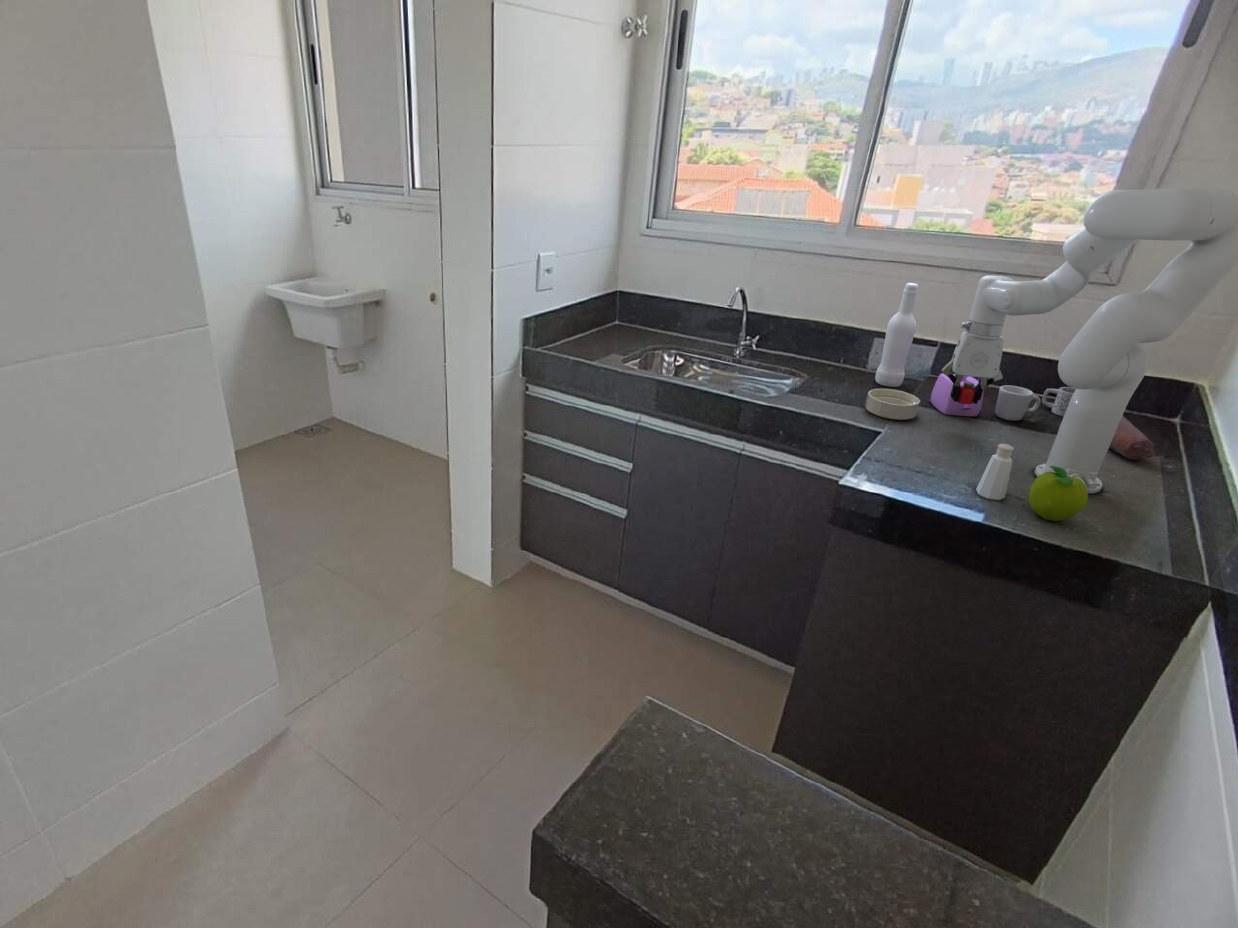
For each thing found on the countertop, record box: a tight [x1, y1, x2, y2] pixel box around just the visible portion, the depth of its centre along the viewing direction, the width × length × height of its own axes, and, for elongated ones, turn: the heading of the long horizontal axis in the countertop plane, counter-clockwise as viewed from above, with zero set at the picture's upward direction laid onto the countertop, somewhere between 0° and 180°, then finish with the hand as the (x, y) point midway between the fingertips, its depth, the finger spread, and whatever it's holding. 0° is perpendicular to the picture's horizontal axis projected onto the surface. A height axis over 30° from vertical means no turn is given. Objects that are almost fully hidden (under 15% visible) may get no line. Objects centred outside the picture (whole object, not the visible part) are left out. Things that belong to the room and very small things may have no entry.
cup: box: [994, 384, 1041, 422], centre depth 177 cm, size 11×8×8 cm
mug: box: [1041, 386, 1076, 418], centre depth 184 cm, size 10×7×7 cm, turn 42°
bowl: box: [864, 388, 921, 421], centre depth 176 cm, size 13×13×4 cm
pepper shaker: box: [975, 443, 1015, 501], centre depth 134 cm, size 5×5×11 cm
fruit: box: [1028, 466, 1089, 522], centre depth 126 cm, size 9×9×10 cm
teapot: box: [930, 373, 985, 417], centre depth 181 cm, size 18×10×10 cm, turn 178°
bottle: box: [874, 282, 919, 388], centre depth 194 cm, size 8×8×30 cm
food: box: [1109, 415, 1156, 461], centre depth 162 cm, size 21×9×9 cm, turn 1°
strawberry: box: [957, 382, 976, 404], centre depth 165 cm, size 4×4×5 cm
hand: (964, 400), depth 166 cm, fingers closed on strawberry, 4 cm apart
